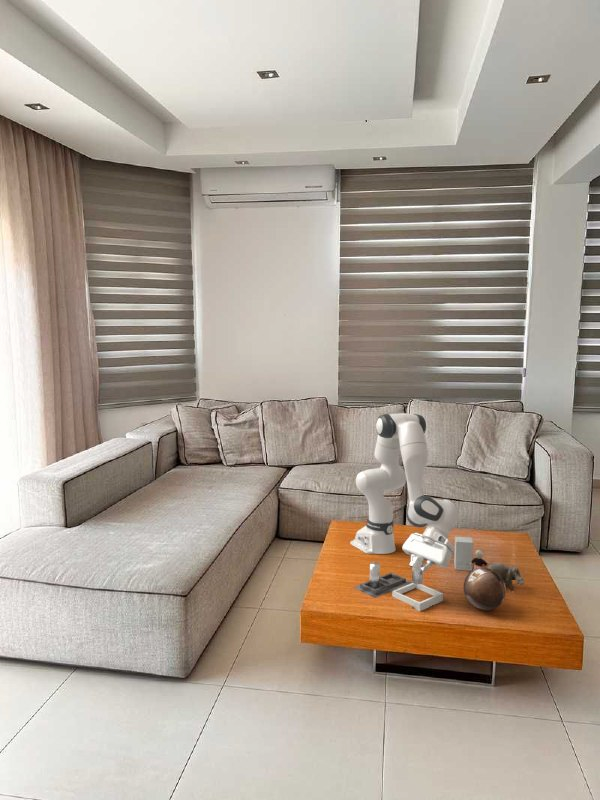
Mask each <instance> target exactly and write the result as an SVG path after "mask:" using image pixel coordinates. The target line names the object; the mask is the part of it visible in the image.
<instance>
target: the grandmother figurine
mask: <svg viewBox="0 0 600 800" xmlns="http://www.w3.org/2000/svg"><path fill="white" fill-rule="evenodd" d="M484 555H485V554H484V552H483V551H482V550H480V549H477V550H476V551H475V557H474V558H473V560H472V561H471V564H470V566H472V564H473V566H472V567H473V570H474V569H477V568H484V567H485V568H487V567H488V566H489V565H488V562H487V561H486V560H485V559H483V557H484Z"/></svg>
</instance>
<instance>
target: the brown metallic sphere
mask: <svg viewBox="0 0 600 800" xmlns="http://www.w3.org/2000/svg"><path fill="white" fill-rule="evenodd" d="M463 581H464V582H463V593H464V595H465V596H464V597H465V598H466V601H468V602H469V603H470V604H471V605H472V606H473V607H475V608H477V609H480V610H483V611H489V610H494V609H496V608H497V607H499V606H500V605H501V604H502V603H503V602H504V601H505V600H504V599H505V596H506V592H507V590H506V583H504V581H503V579H502V578H501V576H500V575H499V574H498V573H497V572H495V571H494V570H492V569H489V568H486V567H483V568H477V569H474V568H473V569H472V571H469V573H468V574H467V575H466V577H465V578H464V580H463Z"/></svg>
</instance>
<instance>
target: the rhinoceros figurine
mask: <svg viewBox="0 0 600 800" xmlns="http://www.w3.org/2000/svg"><path fill="white" fill-rule="evenodd" d="M487 568H489V569H492V570H494V571H495V572H497V573H498V574H499V575H500V576H501V578H502V579H503V581H504V583H505V585H507V586H509V587H510V591H511V592H514V584H513V581H515V583H516V584H518V585H519V586H522V585H524V584H525V583H526V581H525V579H524V578H523V576H522V574H521V572H524V571H525V570H524V569H523V570H522V571H520V569H519V567H517V566H509V565H506V564H504V563H501V562H493V563H490V564H489V565H488V567H487Z"/></svg>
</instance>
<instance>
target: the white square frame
mask: <svg viewBox="0 0 600 800" xmlns="http://www.w3.org/2000/svg"><path fill="white" fill-rule="evenodd" d="M414 589H417V590H419V591H422V592H424V593H426V594H428V595H431V597H428V598H426V599H424V600H421V601H418V600H415V599H413V598H411V597H409V596H407V595H404V593H406V592H409V591H412V590H414ZM391 596H392V597H393V598H395V599H398V600H399V601H401V602H403V603H406V604H408V605H410V606H412V608H411V609H413V608H414V609H413V610H416V611H418V612H421V611H424V610H426V609H428V608H431V607H432V605H433V606H435V605H437V604H439V603H442V602H443V601H444V592H441V591H438V590H437V589H434V588H431V587H428V586H426V585H424V584H423V583H422V584H414V583H411V584H408V585H406V586H403V587H401V588H398V589H396V590H393V591H391ZM441 601H442V602H441ZM430 606H431V607H430Z"/></svg>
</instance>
